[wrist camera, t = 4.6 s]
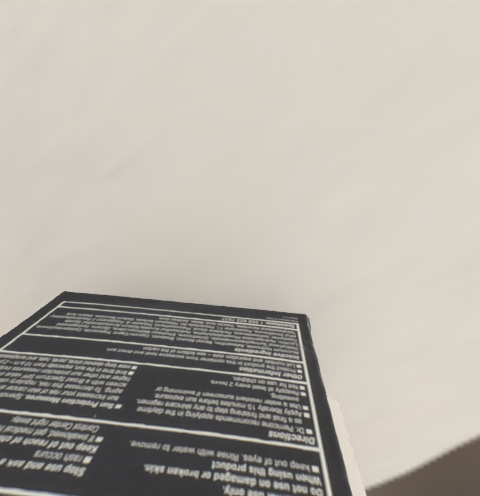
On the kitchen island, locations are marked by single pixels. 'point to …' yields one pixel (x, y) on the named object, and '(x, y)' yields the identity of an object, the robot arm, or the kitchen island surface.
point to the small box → (164, 402)
